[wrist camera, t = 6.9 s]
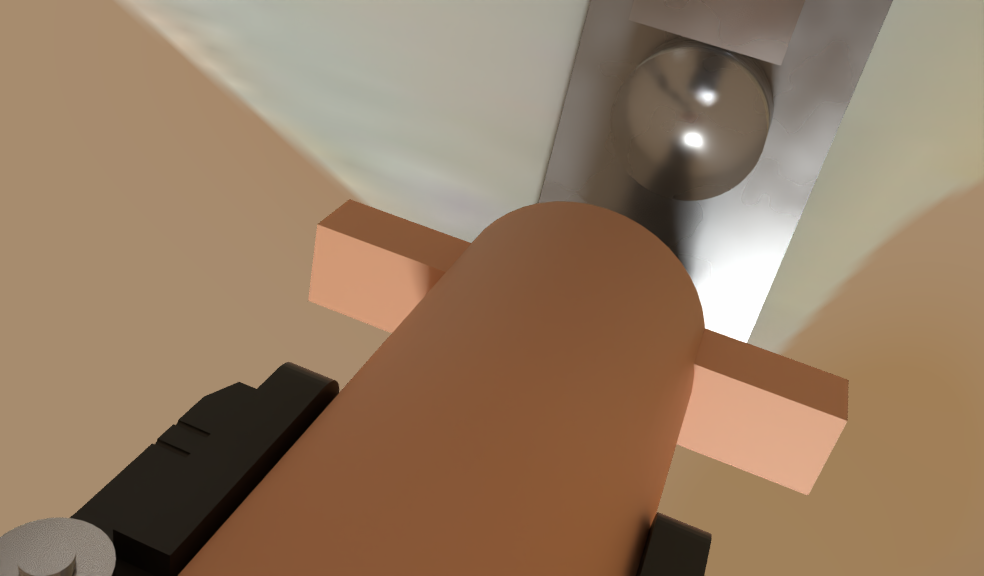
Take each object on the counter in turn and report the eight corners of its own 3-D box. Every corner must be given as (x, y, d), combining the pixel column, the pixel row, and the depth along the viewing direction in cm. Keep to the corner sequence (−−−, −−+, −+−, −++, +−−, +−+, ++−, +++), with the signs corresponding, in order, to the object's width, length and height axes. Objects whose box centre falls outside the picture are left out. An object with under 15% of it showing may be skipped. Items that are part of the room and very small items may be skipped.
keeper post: (520, 295, 34) (448, 397, 28) (665, -260, 25) (602, -280, 19) (730, 373, 33) (700, 497, 27) (969, -189, 23) (1002, -185, 17)
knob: (359, 123, 16) (-514, 687, 6) (886, 305, 14) (943, 1553, 4) (331, 334, 19) (-327, 996, 8) (780, 512, 17) (648, 1628, 7)
